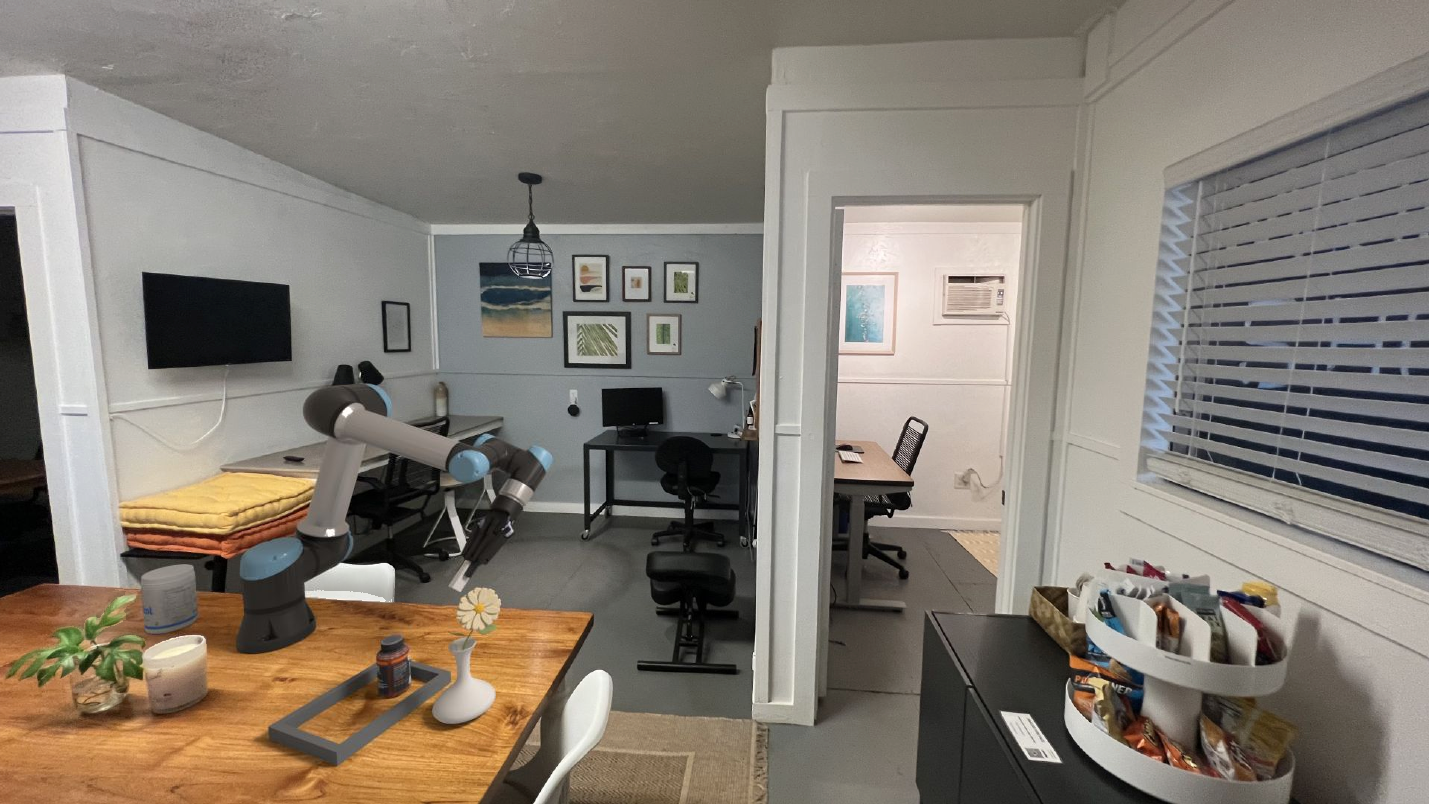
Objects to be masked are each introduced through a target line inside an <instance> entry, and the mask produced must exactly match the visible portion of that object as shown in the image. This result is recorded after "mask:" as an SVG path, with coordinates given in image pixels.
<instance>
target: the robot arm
mask: <svg viewBox="0 0 1429 804" xmlns="http://www.w3.org/2000/svg"><path fill="white" fill-rule="evenodd" d="M392 405H393V404H392V401H391V398H390V397H389V395H388V394H387V392H386V391H385V390H384V389H383V388H381V387H379V386H377V385H375V384H372V383H362V382H361V383H360V382H359V383H353V384H352V383H351V384H343V385H328V386H323V387H320V388H318V389H316V390H314V391H313V392H312V393H310V394H309V395H308V396H307V397H306V399H305V401H304V403H303V406H302V415H303V419H304V420H305V423H306V424H307V425H308V426H309V427H310V428H311V429H312V430H314V431H316V432H317V433H319V434H321V435H324V436H327V437H328V438H327V441H326V445H325V449H324V452H323V456H322V459H321V463H320V466H319V470H318V474H317V477H316V481H315V485H314V488H313V491H312V492H313V493H312V496H311V499H310V500H311V501H310V503H309V506H308V509H307V514H306V517H305V518H303V519H301V520H299V521H298V523H297V524H296V528H295V532H294V535H293V536H292V537H290V536H289V537H288V536H287V537H278V538H273V539H271V540H270V541H267V540H266V541H264V542H261V543H258V544H257V545H256V544H255V545H254V546H252V547H251V548H249V549H247V550H246V551H245V552H244V553H243V554H242V556H241V557H240V563H239V564H240V566H239V577H240V584H241V585H240V586H241V593H242V603H243V617H242V619H241V623H240V626H239V628H238V629H239V630H238V632H237V635H236V640H235V641H236V644H235V645H236V649H237V651H238V652H240V653H243V654H261V653H269V652H273V651H276V650H279V649H282V648H283V649H284V648H286V647H289V646H292V645H293V644H296V643H299V642H300V641H303V640H305V639H306V638H307V637H309V636H310V635H312V633H314V631H315V630H316V628H317V620H316V616H315V614H314V613H313V611H312V609H311V607H310V604H309V603H308V601H307V600H306V591H305V590H306V588H305V583H307V582H308V581H311V580H312V579H314V578H316V577H318V576H320V575H321V574H323V573H325V572H327V571H329V570H332V569H333V568H335V567H337V566H338V565H340V564H341V563H342V562H344V561H345V560H346V559H347V558H348V557H349V556H350V554H351V553H352V550H353V547H354V537H353V536H352V535H351V534H352V531H351V530H350V525H349V524H348V523H347V522H346V517H347V515H348V514H347V513H348V510H349V507H350V503H351V501H352V500H351V499H352V496H353V492H354V490H355V489H354V488H355V486H356V482H357V479H358V475H359V473H360V472H359V471H360V470H361V469H360V467H361V464H362V461H363V458H364V455H365V454H364V453H365V451H366V448H367V445H368V446H370V447H374V448H376V449H378V450H379V449H380V450H382V451H386V452H389V453H391V454H394V455H398V456H401V457H402V458H406V459H410V460H412V461H415V462H418V463H421V464H424V465H427V466H430V467H434V468H437V469H440V470H443V471H446V472H448V473H449V474H450V476H451V477H452V478H453V479H454V480H455V481H456V482H458V483H460V484H461V483H462V484H471V483H473V482H477V481H479V480H482V479H483V478H485V476H487V475H489V474H492V473H493V472H495V471H500V472H501V473H504V474H506V475H508V476H509V477H508V478H507V480H506V481H505V483H504V484H503V485H502V487H501V489H500V490H499V491H498V493H499V494H498V495H496V496H495V498H494V499H493V501H492V502H491V504H490V506H489V507H490V512H489V513H488V514H487V515H485V516H484V518H483V519H481V520H480V519H478V518H476V519H475V520H474V522H473V528H472V530H471V532H470V534H469V536H468V538H467V540H466V541H465V544H464V546H463V549H462V551H461V553H460V556H461V557H462V558H463V561H462V562H461V564H460V566H459V567H458V569H457V570H456V574H455V576H454V577H453V579H452V580H451V582H450V583H449V584H448V588H450V589H453V590H454V591H456V592H458V593H461V592H462V591H463V589H464V587H465V586H466V584H467V583H468V581H469V580H470V579H471V578H473V576H474V574H475V572H476V570H477V569H478V568H479V567H480V566H481V565H484V566H487V565H488V564H489V563H490V562H491V560H492V559H493V558H494V556H496V554H497V553H498V552H499V551H500V550H501V548H502V547H503V546H504V545H505V544H506V542H508V540H509V539H511V538H512V537H513V536H514V535H515V534H516V531H515V530H514V529H513V527H512V526H513V523H514V522H515V521H517V520H518V519H519V518H520V516H521V515H522V514H523V511H524V507H526V506H527V504H528V503H529V501H530V500H531V498H532V497H533V495H534V494H535V491H536V490H537V488H538V487H539V485H540V484H541V483H542V481H543V479H544V478H545V477H546V475H547V474H548V472H549V469H550V467H551V465H552V463H553V460H554V459H553V456H552V454H551V453H550V452H549V451H548V450H546V449H545V448H543V447H541V446H537V445H530V446H529V447H528V448H526V450H525V449H522V448H520V447H518V446H515V445H514V444H512V443H509V442H507V441H505V440H503V439H502V438H500V437H498V436H494V435H492V434H490V433H483V434H482V435H480V436H479V437H477V439H476V441H475V442H474V443H473V445H471V444H470V445H469V444H468V443H467V444H466V443H464V442H461V441H458V440H455V439H453V438H449V437H447V436H443V435H441V434H438V433H434V432H432V431H429V430H426V429H424V428H419V427H416V426H414V425H411V424H408V423H404V422H402V421H399V420H396V419H393V418H390V416H391V414H392V410H393V406H392Z"/></svg>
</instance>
